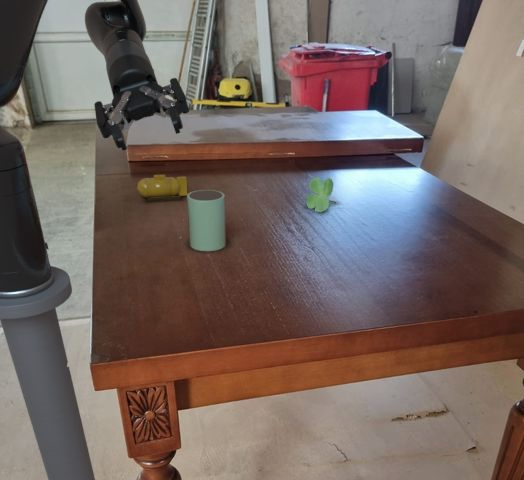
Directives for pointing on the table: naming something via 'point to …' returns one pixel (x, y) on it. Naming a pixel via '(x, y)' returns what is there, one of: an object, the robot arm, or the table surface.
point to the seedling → (319, 194)
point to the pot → (206, 220)
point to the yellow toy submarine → (162, 188)
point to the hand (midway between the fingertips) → (149, 137)
